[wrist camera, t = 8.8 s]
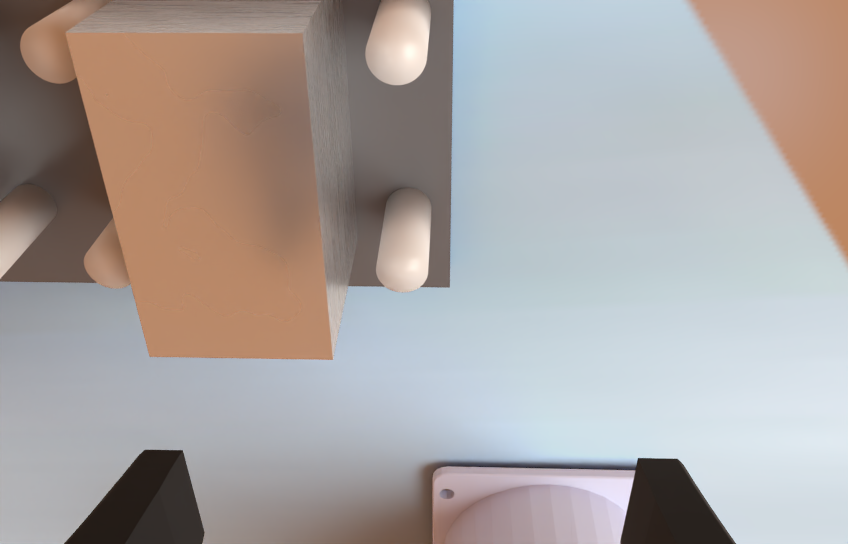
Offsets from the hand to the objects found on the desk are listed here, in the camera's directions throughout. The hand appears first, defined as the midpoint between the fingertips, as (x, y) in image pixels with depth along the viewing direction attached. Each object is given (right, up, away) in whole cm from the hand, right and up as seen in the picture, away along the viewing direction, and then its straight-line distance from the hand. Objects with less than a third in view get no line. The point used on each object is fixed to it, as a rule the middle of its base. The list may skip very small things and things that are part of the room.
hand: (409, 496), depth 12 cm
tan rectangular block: (-4, +7, +6) cm, 11 cm away
